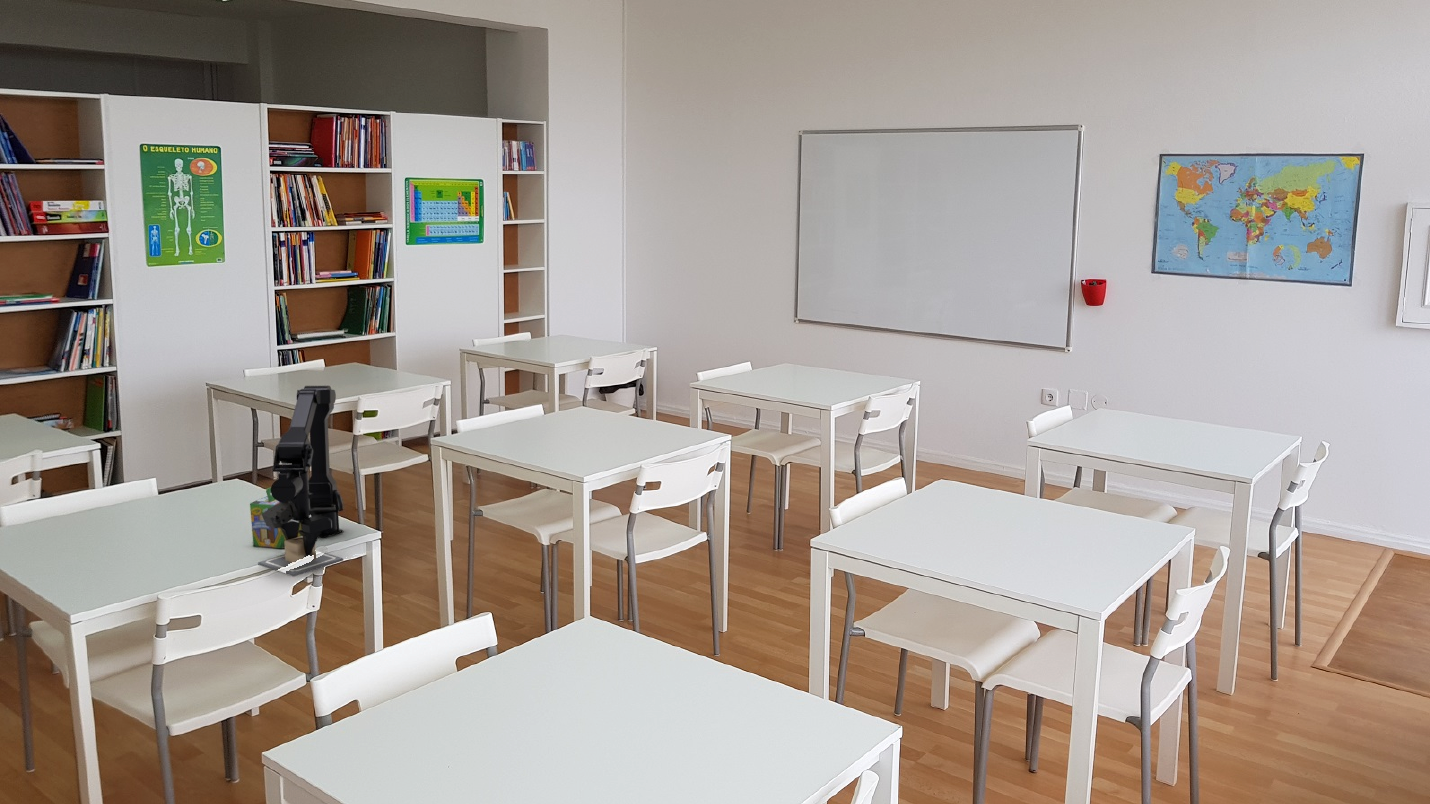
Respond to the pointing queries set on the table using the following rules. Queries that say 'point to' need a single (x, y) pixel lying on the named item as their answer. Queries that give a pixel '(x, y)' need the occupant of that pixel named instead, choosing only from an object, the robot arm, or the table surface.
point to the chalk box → (260, 531)
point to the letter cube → (296, 550)
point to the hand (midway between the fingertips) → (300, 552)
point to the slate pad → (314, 564)
